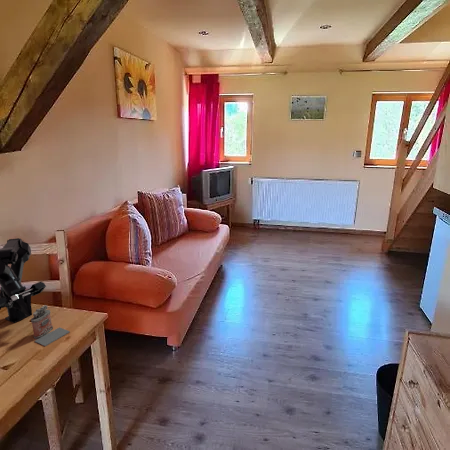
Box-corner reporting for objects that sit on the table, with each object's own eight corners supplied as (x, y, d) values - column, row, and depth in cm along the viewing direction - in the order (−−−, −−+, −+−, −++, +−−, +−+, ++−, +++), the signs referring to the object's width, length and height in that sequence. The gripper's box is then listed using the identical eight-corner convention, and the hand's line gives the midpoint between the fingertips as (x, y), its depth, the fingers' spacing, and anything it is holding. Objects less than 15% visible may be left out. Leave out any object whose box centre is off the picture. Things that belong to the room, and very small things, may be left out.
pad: (34, 341, 121) (34, 341, 121) (59, 327, 130) (59, 327, 130) (45, 346, 119) (45, 345, 119) (70, 332, 127) (69, 331, 127)
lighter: (39, 339, 123) (35, 315, 120) (31, 338, 123) (27, 313, 121) (55, 327, 130) (51, 304, 128) (47, 326, 131) (43, 303, 128)
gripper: (25, 281, 138) (46, 313, 137) (-25, 301, 123) (-3, 337, 121) (35, 268, 133) (56, 301, 131) (-17, 286, 117) (7, 324, 115)
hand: (30, 315), depth 124 cm, fingers closed
